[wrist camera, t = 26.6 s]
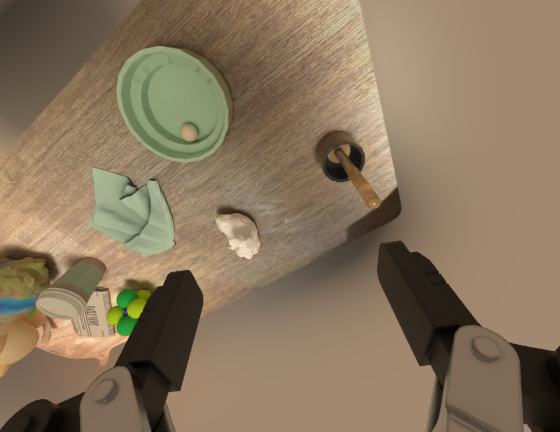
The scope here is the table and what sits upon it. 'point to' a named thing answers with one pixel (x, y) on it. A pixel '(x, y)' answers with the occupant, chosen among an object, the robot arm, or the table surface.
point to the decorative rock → (21, 285)
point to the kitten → (21, 337)
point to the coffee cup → (71, 290)
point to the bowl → (174, 102)
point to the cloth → (132, 213)
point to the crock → (335, 169)
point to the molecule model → (127, 310)
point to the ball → (189, 132)
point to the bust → (239, 233)
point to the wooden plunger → (355, 175)
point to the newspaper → (95, 316)
